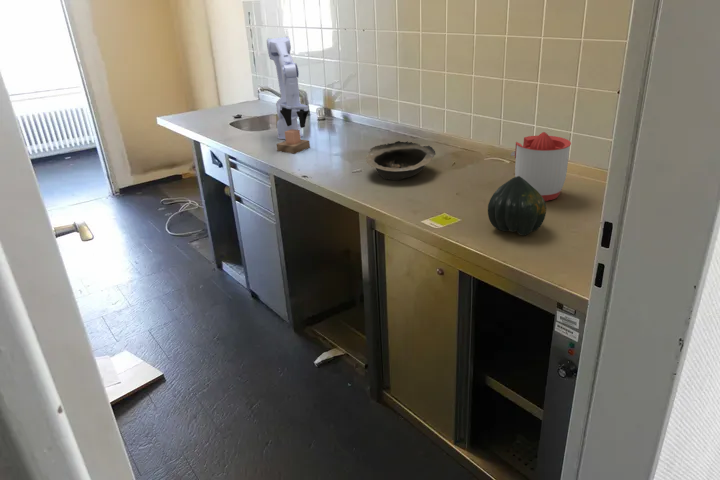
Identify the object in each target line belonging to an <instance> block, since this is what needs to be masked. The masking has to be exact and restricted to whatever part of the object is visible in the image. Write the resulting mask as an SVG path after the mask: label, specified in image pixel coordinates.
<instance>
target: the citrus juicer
mask: <svg viewBox="0 0 720 480" xmlns="http://www.w3.org/2000/svg"><path fill="white" fill-rule="evenodd" d="M571 145H572V142H571V141H570V140H569V139H567V138H564V137H561V136H554V135H549V134H548V133H547V132H545V131H543V132H541V133H539V134H538V135H529V136H525V137H524V136H523V145H522V143H520V142H518V141H516V142H515V150H514V151H512V152H511V153H510V157H511V156H512V157H513V156H514V159H515V167H514V175H515V176H514V177H517V176H520V177H521V178H523V179H524V180H525V181H527V182H528V183H529V184H530V185H531V186H532V187H533V188H535V189H536V190H537V191H538V192H539V193H540V195H541V196H542V197H543V199H544V201H545V202H548V201H551V200H552V201H553V200H555V199H557V198H558V197H559V195H560V194H561V192H562V190H563V187H564V185H565V182H566V177H567V172H568V164H569V155H570V146H571Z"/></svg>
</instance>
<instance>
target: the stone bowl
mask: <svg viewBox="0 0 720 480" xmlns="http://www.w3.org/2000/svg"><path fill="white" fill-rule="evenodd" d="M435 156H436V150H435V149H434V148H433V146H431V145H424V146H423V145H420V144H419V143H416V142H411V141H409V140H408V141H401V140H396V141H395V142H392V143H387V144H386V143H384V144H380V145H375V146H373V147H371V148H370V150H369V151H368V154H367V155H365V159H366V161H365V162H366V164H367V165H368V166H369V167H371V168H374V169H375V171H376V173H377V174H378V175H379V176H380V177H382V178H383V179H385V180H391V181H392V180H393V181H402V180H404V179H408V178H410V177H413V176H415V175H416V174H419V173H420V172H421V171H423V170H424V168H425V167H426V166H427V165H428V164H429V163H430V162H431V161H433V159H434V158H435Z"/></svg>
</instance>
